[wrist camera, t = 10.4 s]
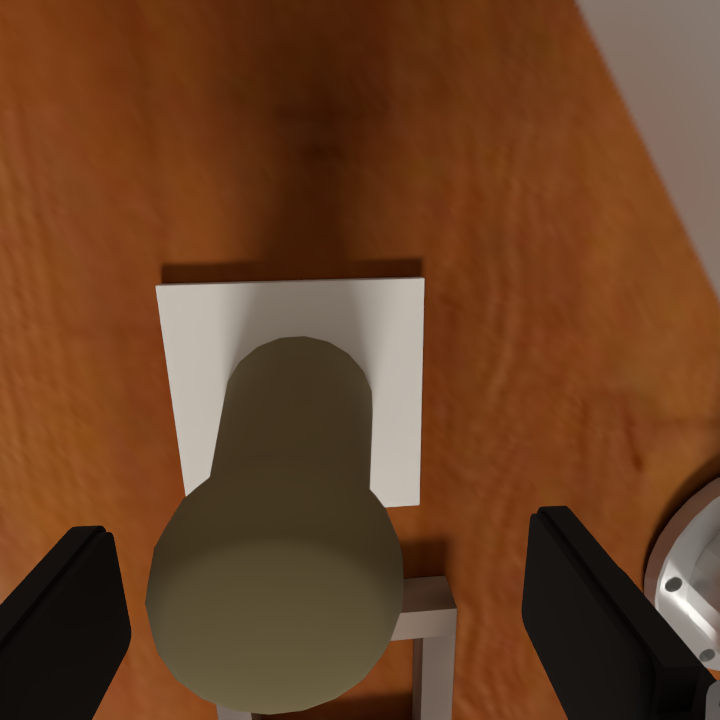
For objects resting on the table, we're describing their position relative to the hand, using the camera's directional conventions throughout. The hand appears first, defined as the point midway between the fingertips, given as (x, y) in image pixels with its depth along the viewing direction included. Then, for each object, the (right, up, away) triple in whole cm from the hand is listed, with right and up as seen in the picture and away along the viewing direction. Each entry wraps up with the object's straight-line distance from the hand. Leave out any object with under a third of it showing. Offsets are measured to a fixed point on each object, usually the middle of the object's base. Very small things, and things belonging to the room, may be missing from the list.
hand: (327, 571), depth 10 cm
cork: (-2, +3, +8) cm, 9 cm away
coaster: (-2, +3, +9) cm, 10 cm away
